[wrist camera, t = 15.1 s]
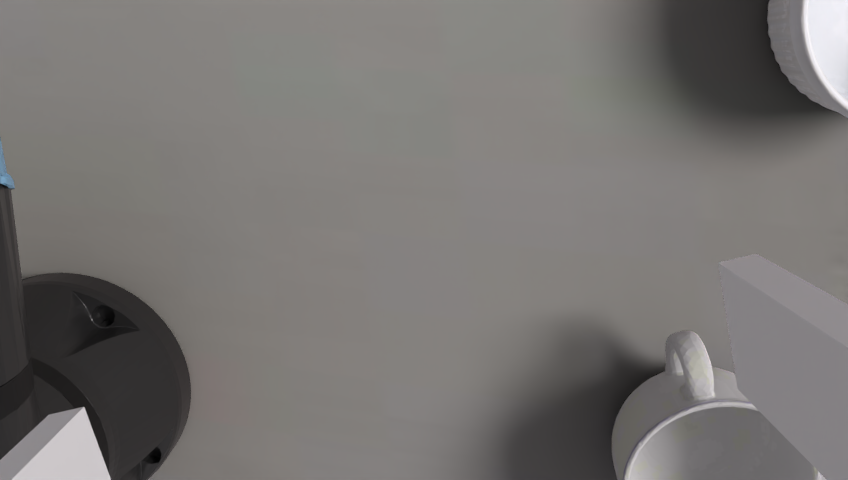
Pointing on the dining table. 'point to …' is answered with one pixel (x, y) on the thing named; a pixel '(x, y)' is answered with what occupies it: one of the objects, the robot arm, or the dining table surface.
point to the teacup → (699, 426)
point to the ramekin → (813, 48)
